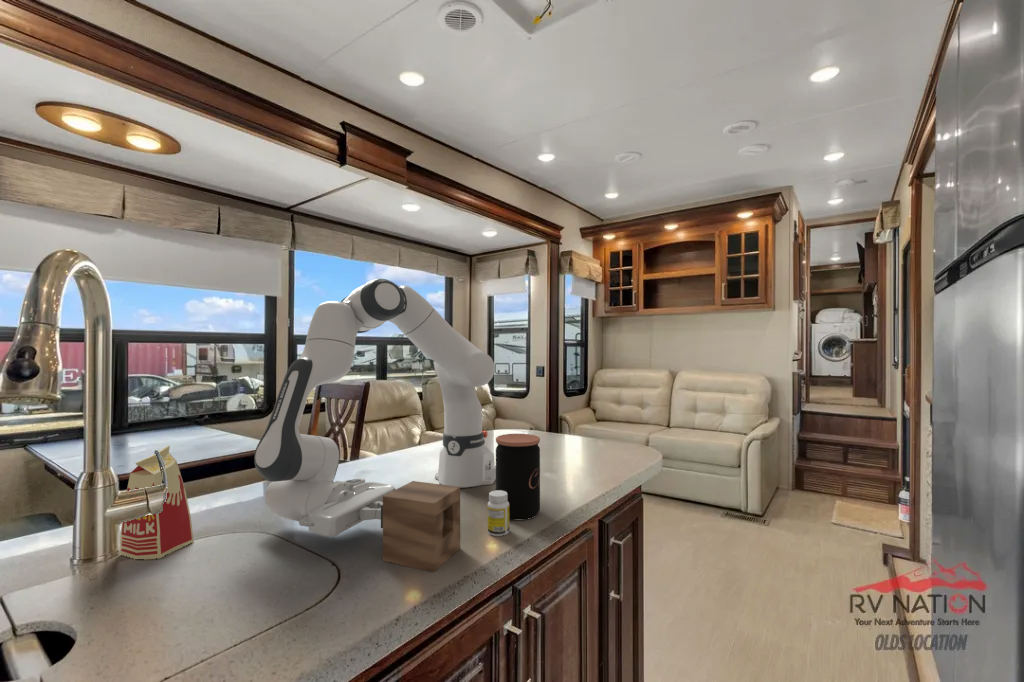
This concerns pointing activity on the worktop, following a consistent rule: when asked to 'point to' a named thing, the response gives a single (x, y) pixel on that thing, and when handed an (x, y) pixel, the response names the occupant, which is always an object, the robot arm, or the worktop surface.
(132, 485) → the milk carton
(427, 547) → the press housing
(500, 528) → the supplement bottle
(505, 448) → the coffee jar
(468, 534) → the worktop surface
